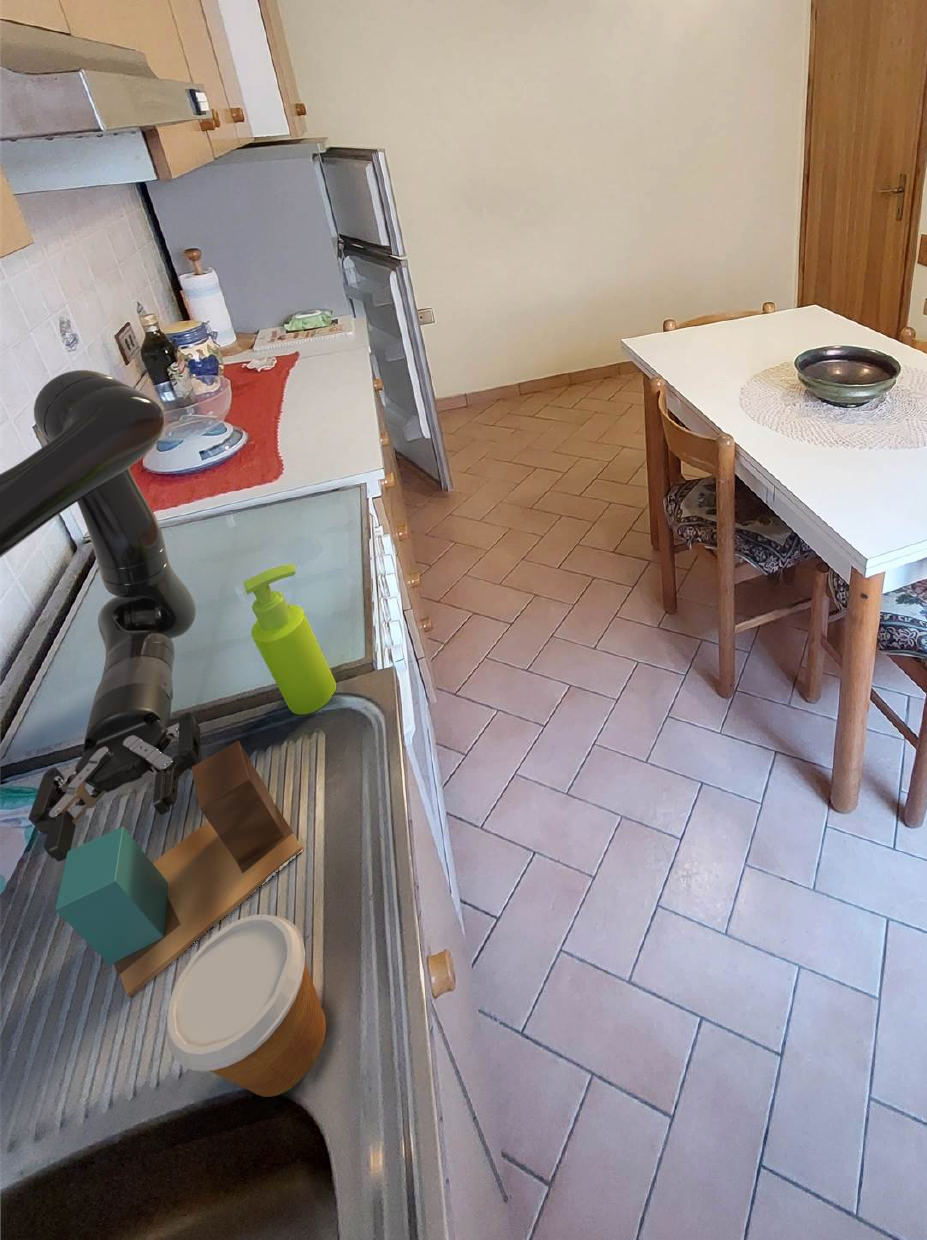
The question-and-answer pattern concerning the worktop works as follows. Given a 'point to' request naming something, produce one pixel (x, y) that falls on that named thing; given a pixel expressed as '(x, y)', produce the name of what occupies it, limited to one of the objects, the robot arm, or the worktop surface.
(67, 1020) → the worktop surface
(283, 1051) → the disposable coffee cup
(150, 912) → the tall teal prism
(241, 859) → the brown wooden block
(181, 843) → the word board
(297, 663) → the soap dispenser
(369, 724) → the worktop surface
